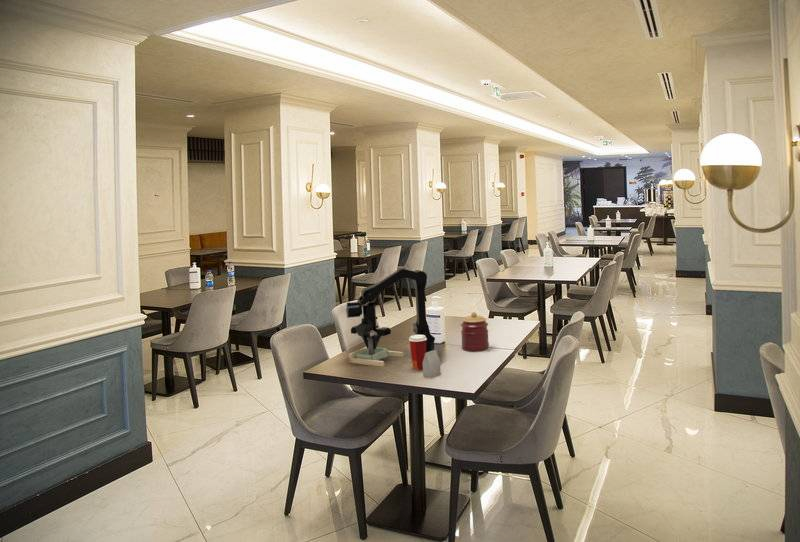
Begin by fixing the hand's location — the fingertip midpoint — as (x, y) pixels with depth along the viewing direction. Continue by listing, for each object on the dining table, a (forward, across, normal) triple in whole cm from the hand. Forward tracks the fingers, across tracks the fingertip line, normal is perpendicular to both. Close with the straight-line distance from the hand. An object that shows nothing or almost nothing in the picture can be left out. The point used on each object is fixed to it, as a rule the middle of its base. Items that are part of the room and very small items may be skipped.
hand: (371, 348), depth 261 cm
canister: (+6, +36, +36) cm, 51 cm away
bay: (+6, +2, 0) cm, 6 cm away
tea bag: (+6, +36, -10) cm, 38 cm away
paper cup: (+6, +26, -3) cm, 27 cm away
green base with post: (+5, 0, 0) cm, 5 cm away
